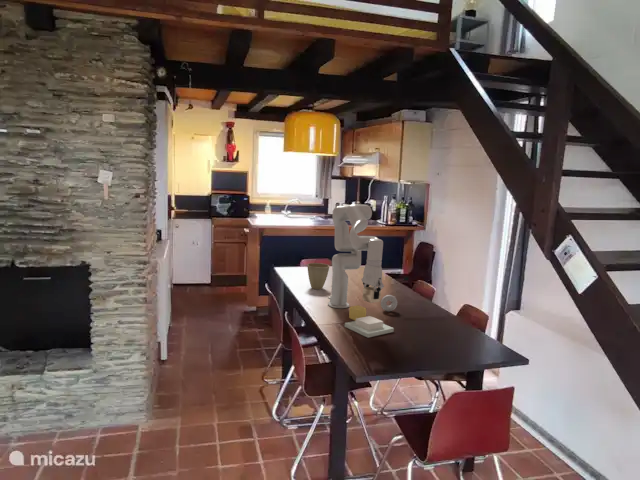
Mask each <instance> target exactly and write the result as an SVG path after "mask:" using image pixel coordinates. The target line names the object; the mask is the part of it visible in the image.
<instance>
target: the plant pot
mask: <svg viewBox="0 0 640 480" xmlns="http://www.w3.org/2000/svg"><path fill="white" fill-rule="evenodd" d="M329 271H330V265H329V264H326V263H320V262H319V263H318V262H310V263H307V273H308V274H307V275H308V281H309V284H310V288H311V289H312V290H317V289H319V290H322V289H323V288H324V285H325V283H326V281H327V277H328V276H329V275H328V274H329Z"/></svg>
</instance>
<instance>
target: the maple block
mask: <svg viewBox="0 0 640 480" xmlns="http://www.w3.org/2000/svg"><path fill="white" fill-rule="evenodd" d="M374 291H375V288H374V286H371V285H370V286H369V287H364V286H363V287H362V301H364V302H366V303H370V304H375V303H379V302H380V303H381V295H382V294H381V293H382V290H381V291H379V299H374Z"/></svg>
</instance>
